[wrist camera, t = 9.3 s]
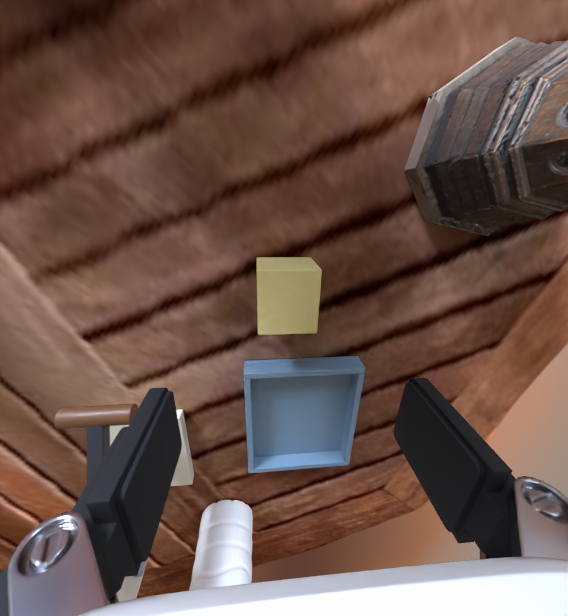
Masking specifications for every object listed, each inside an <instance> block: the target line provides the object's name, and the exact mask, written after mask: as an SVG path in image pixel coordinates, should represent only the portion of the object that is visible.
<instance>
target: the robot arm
mask: <svg viewBox="0 0 568 616" xmlns="http://www.w3.org/2000/svg"><path fill="white" fill-rule="evenodd" d="M394 436H395V439H396V441H397V443H398V444H399V446H400V448H401V450H402V452H403V453H404V455H405V457H406V459H407V460H408V462H409V464H410V466H411V468H412V469H413V471H414V473H415V475H416V476H417V478H418V480H419V482H420V483H421V485H422V487H423V489H424V491H425V492H426V494H427V496H428V498H429V499H430V501H431V503H432V505H433V506H434V508H435V510H436V512H437V514H438V515H439V517H440V519H441V521H442V522H443V524H444V526H445V527H446V529H447V530H448V531H449V532H452V533H453V535H454V537H455V538H456V540H457V542H458V543H466V542H474V541H475V542H476V544H477V546H478V547H479V549H480V559H479V560H466V561H456V562H446V563H437V564H427V565H417V566H406V567H397V568H387V569H378V570H368V571H359V572H350V573H340V574H331V575H322V576H312V577H303V578H294V579H285V580H276V581H267V582H259V583H250V584H241V585H232V586H223V587H214V588H206V589H198V590H191V591H184V592H176V593H169V594H161V595H154V596H147V597H142V598H137V599H132V600H127V601H122V602H119V600H118V596H117V592H118V591H119V590H120V589H121V587H122V584H123V581H124V578H125V577H129V576H137V574H138V571H139V568H140V565H141V562H145V561H146V560H147V559H148V557H149V554H150V551H151V548H152V545H153V541H154V538H155V535H156V532H157V528H158V525H159V522H160V518H161V515H162V512H163V509H164V505H165V502H166V499H167V495H168V492H169V489H170V486H171V482H172V479H173V476H174V473H175V469H176V466H177V463H178V459H179V456H180V453H181V448H182V440H181V435H180V429H179V423H178V418H177V412H176V406H175V401H174V395H173V392H169V391H168V389H167V388H151V389H150V390H149V391H148V393H147V395H146V396H145V398H144V400H143V402H142V403H141V405H140V407H139V409H138V410H137V412H136V414H135V416H134V417H133V419H132V421H131V423H130V425H129V426H128V427H123V428H122V429H121V430H120V431H119V433H118V434H117V436H116V437H115V439H114V441H113V442H112V444H111V446H110V448H109V449H108V451H107V453H106V454H105V456H104V458H103V459H102V461H101V463H100V464H99V466H98V468H97V469H96V471H95V473H94V474H93V476H92V478H91V479H90V481H89V483H88V484H87V486H86V488H85V490H84V491H83V493H82V495H81V496H80V498H79V500H78V501H77V503H76V505H75V506H74V508H73V510H72V511H71V512H64V513H60V514H57V515H55V516H53V517H51V518H49V519H47V520H45V521H44V522H42V523H41V524H39V525H38V526H37V527H35V528H34V529H33V530H32V531H31V532H30V533H29V534H28V535H27V536H26V537H25V538H24V539H23V540H22V541H21V542H20V544H19V545H18V546H17V548H16V549H15V551H14V553H13V555H12V557H11V559H10V561H9V565H8V568H6V569H5V570H3V571H2V572H1V573H0V616H568V498H566V497H565V496H564V495H563V494H562V493H561V492H560V491H558V490H557V489H555V488H554V487H552V486H551V485H549V484H547V483H545V482H543V481H541V480H538V479H536V478H533V477H526V476H523V477H518V478H517V479H515V478H514V476H513V475H512V474H511V472H512V470H511V469H510V468H509V467H508V466H507V465H506V463H505V462H504V461H503V460H502V459H501V458H500V457H499V456H498V455H497V454H496V453H495V452H494V451H493V449H492V448H491V447H490V446H489V445H488V444H487V443H486V442H485V441H484V440H483V439H482V438H481V436H480V435H479V434H478V433H477V432H476V431H475V430H474V429H473V428H472V427H471V426H470V425H469V423H468V422H467V421H466V420H465V419H464V418H463V417H462V416H461V415H460V414H459V413H458V412H457V411H456V409H455V408H454V407H453V406H452V405H451V404H450V403H449V402H448V401H447V400H446V399H445V398H444V396H443V395H442V394H441V393H440V392H439V391H438V390H437V389H436V388H435V387H434V386H433V385H432V383H431V382H430V381H429V380H428V379H426V378H412V379H410V380H409V382H407V383H406V384H405V388H404V392H403V396H402V399H401V403H400V407H399V411H398V415H397V419H396V423H395V426H394Z"/></svg>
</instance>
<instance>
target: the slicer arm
mask: <svg viewBox="0 0 568 616" xmlns="http://www.w3.org/2000/svg"><path fill="white" fill-rule="evenodd" d="M137 410H138V406H137V404H121V405H103V406H84V407H66V408H62V409H60V410H59V411H58V412H57V414H56V416H55V419H54V425H55V427H56V428H57V429H71V428H87V484H88V483H89V481H90V479H91V478H92V476H93V474H94V473H95V471H96V469H97V468H98V466H99V464H100V463H101V461H102V459H103V458H104V456H105V454H106V453H107V451H108V449H109V448H110V426H118V425H130V423H131V421H132V419H133V417H134V416H135V414H136V412H137Z"/></svg>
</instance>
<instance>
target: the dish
mask: <svg viewBox="0 0 568 616" xmlns="http://www.w3.org/2000/svg"><path fill="white" fill-rule="evenodd" d="M364 373H365V367H364V365H363V364H362V362H361V361H360V360H359V357H358V356H344V357H319V358H295V359H271V360H246V361H244V393H245V413H246V432H247V452H248V472H249V473H259V472H271V471H283V470H295V469H307V468H319V467H331V466H343V465H349V460H350V454H351V448H352V443H353V437H354V431H355V426H356V420H357V414H358V408H359V403H360V397H361V391H362V385H363V380H364Z"/></svg>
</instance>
